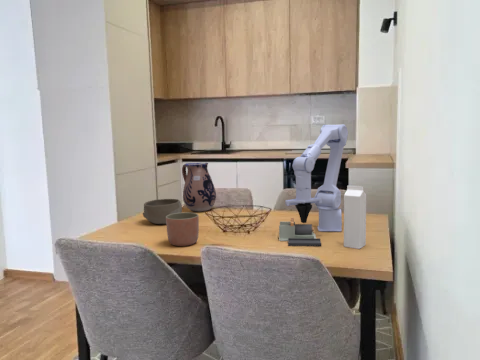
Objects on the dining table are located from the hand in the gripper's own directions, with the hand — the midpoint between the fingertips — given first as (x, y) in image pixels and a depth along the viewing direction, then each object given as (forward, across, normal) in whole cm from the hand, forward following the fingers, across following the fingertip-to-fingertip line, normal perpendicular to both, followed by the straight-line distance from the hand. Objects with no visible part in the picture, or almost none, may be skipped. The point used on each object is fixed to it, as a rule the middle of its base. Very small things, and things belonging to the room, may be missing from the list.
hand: (303, 222), depth 166 cm
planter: (+6, +46, -11) cm, 47 cm away
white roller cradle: (+6, +2, -1) cm, 7 cm away
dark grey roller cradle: (+6, +3, +7) cm, 10 cm away
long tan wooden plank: (0, +4, -1) cm, 4 cm away
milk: (+6, -12, +16) cm, 22 cm away
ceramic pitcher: (+6, +28, -73) cm, 78 cm away
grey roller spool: (+3, +1, -1) cm, 3 cm away
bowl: (+6, +48, -50) cm, 70 cm away
